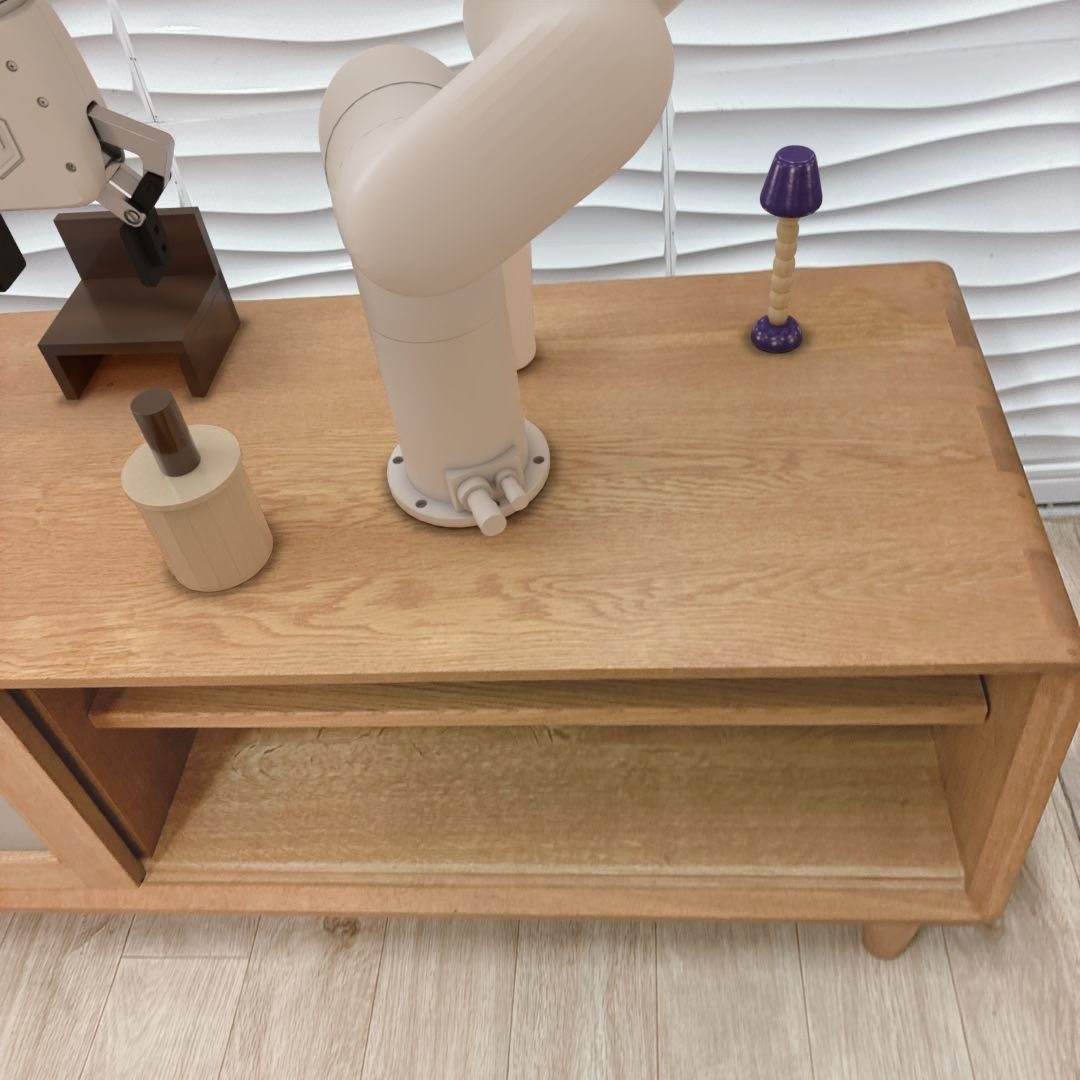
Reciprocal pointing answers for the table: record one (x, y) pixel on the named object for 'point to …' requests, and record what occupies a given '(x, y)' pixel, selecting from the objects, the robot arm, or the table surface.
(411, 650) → the table surface
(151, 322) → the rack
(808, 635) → the table surface
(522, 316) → the drinking glass
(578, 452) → the table surface
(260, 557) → the pot
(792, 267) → the toy lamp
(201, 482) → the lid
